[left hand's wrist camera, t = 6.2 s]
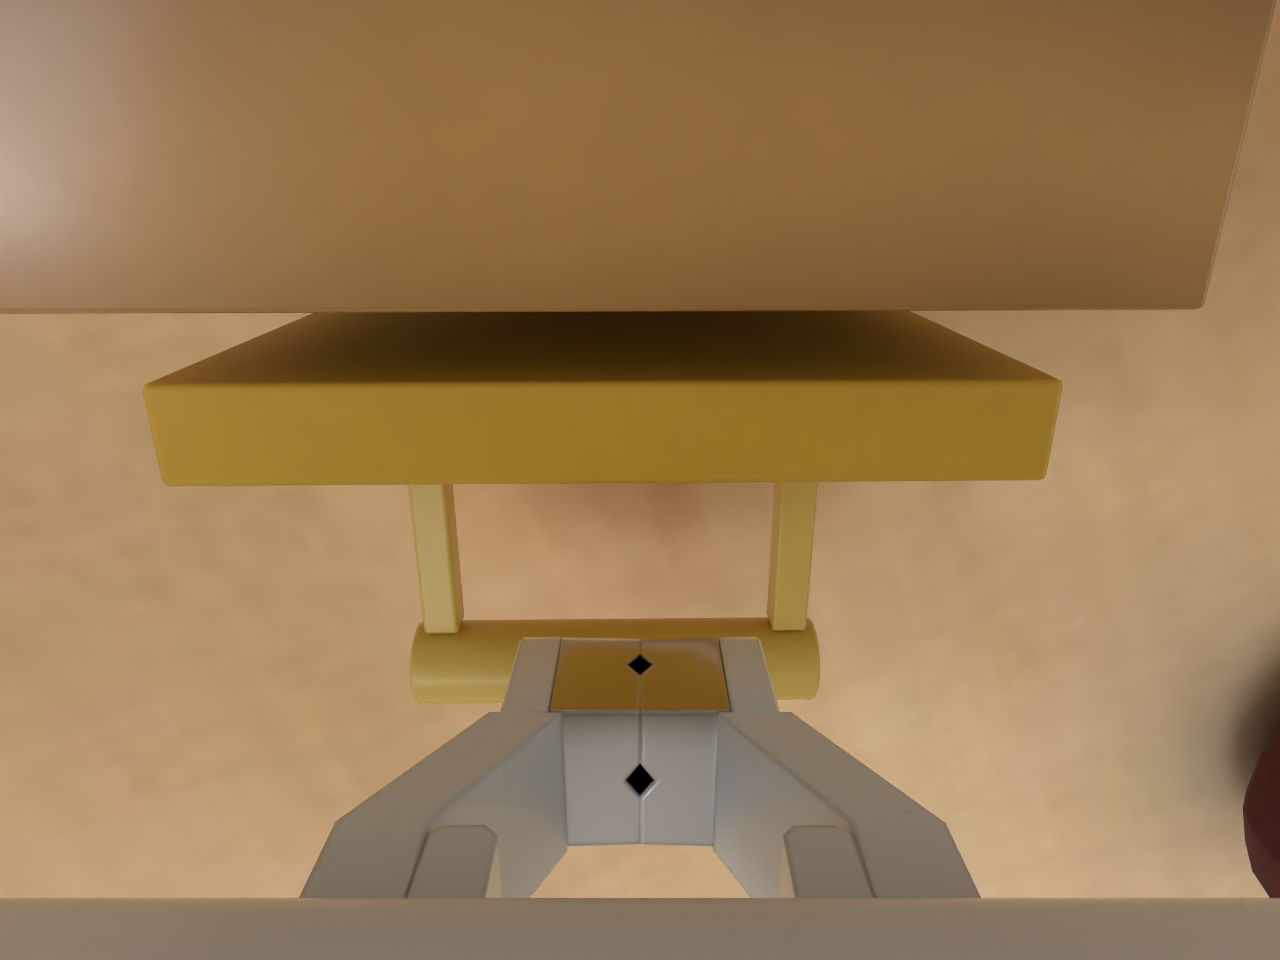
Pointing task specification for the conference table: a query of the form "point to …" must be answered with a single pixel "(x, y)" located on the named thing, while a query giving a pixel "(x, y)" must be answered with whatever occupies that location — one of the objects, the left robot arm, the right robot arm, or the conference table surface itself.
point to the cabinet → (618, 154)
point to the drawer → (602, 436)
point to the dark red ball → (1265, 818)
